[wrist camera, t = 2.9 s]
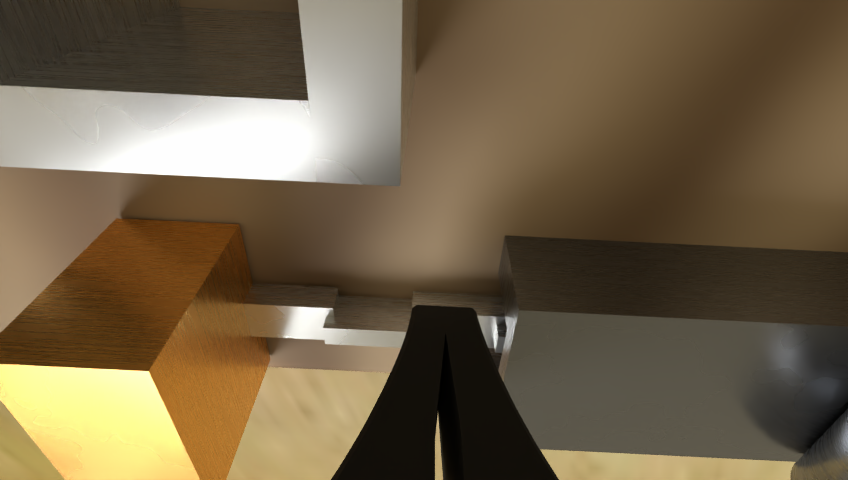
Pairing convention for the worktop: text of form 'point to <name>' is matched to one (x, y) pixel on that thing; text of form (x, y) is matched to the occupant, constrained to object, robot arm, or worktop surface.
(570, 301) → the chain housing
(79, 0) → the grey recessed block
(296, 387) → the worktop surface
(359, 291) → the deck plank
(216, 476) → the chain slider
